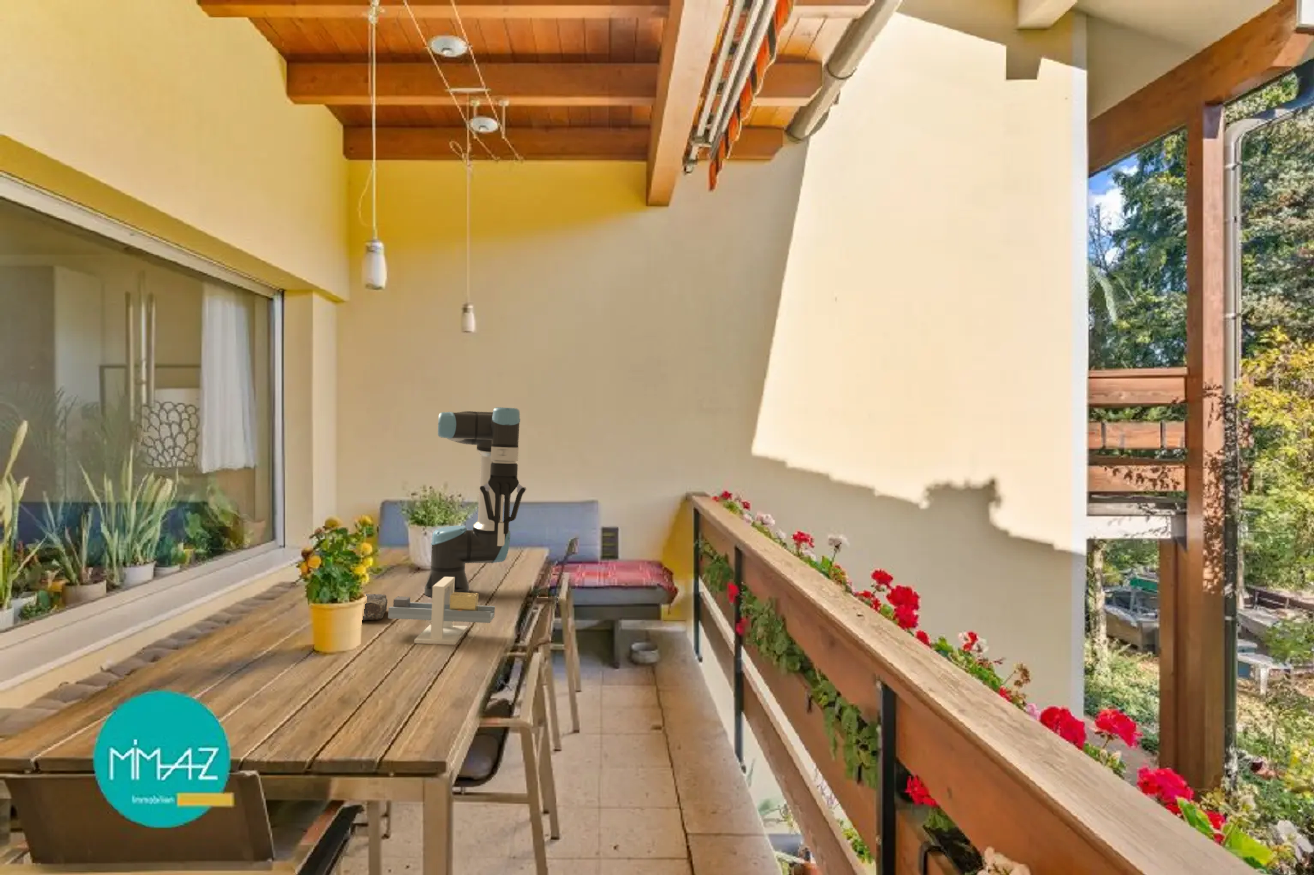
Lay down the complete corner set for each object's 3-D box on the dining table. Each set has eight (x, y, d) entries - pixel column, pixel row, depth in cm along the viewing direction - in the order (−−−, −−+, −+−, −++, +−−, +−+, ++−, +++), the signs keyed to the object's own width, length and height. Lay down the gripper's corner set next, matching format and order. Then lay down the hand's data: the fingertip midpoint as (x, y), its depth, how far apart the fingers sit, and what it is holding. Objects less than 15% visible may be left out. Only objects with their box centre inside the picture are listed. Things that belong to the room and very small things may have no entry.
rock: (353, 610, 217) (336, 625, 202) (353, 589, 217) (336, 603, 202) (394, 609, 218) (381, 624, 203) (394, 589, 218) (381, 603, 203)
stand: (429, 628, 201) (431, 575, 200) (467, 629, 201) (469, 576, 201) (414, 643, 187) (416, 586, 186) (455, 644, 187) (457, 588, 187)
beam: (397, 611, 198) (398, 583, 197) (495, 615, 199) (496, 588, 198) (386, 619, 189) (388, 590, 189) (489, 623, 190) (490, 595, 190)
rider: (452, 611, 196) (453, 592, 196) (477, 612, 196) (478, 593, 196) (449, 614, 192) (450, 595, 192) (474, 615, 192) (475, 596, 192)
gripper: (478, 461, 190) (474, 546, 190) (525, 463, 190) (521, 548, 191) (483, 460, 197) (480, 542, 198) (529, 462, 198) (526, 543, 198)
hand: (500, 545), depth 194 cm, fingers closed
